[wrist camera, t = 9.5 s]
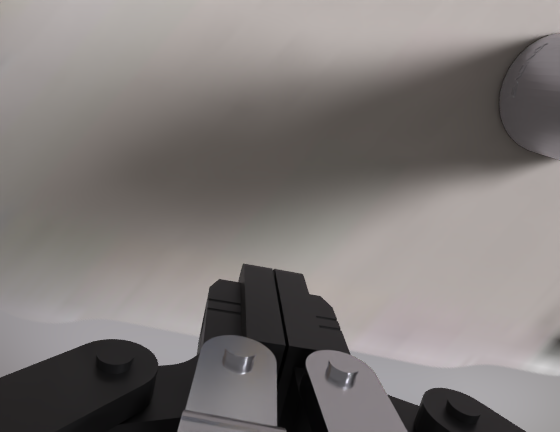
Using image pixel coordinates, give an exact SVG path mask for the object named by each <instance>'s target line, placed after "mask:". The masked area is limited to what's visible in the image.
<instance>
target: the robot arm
mask: <svg viewBox="0 0 560 432" xmlns="http://www.w3.org/2000/svg"><path fill="white" fill-rule="evenodd" d="M499 107H500V115H501V119H502V122H503V125H504V128H505V129H506V131H507V132H508V134H509V135H510V137H511V138H512V139H513V140H514V141H515V142H516V143H517V144H518V145H520V146H522V147H523V148H525V149H527V150H529V151H532V152H535V153H539V154H542V155H545V156H548V157H551V158H554V159H557V160H560V33H557V34H551V35H549V36H546V37H544V38H541V39H539V40H537V41H536V42H534V43H533V44H531V45H529V46H528V47H527V48H526V49H525V50H524V51H523V52H522V53H521V54H520V55H518V57H517V58H516V59H515V61H514V62H513V63H512V65H511V66H510V68H509V70H508V72H507V74H506V76H505V78H504V81H503V84H502V88H501V91H500V102H499ZM0 432H526V431H524V430H522V429H521V428H519V427H518V426H516V425H515V424H513V423H512V422H510V421H508V420H507V419H505V418H504V417H502V416H501V415H499V414H498V413H496V412H494V411H493V410H491V409H490V408H488V407H487V406H485V405H484V404H482V403H480V402H479V401H477V400H475V399H474V398H472V397H470V396H468V395H466V394H463V393H461V392H458V391H455V390H451V389H446V388H433V389H430V390H428V391H426V392H425V394H424V395H423V398H422V401H421V403H420V406H418V405H414V404H412V403H409V402H406V401H403V400H400V399H398V398H395V397H392V396H390V395H387V393H386V392H385V390H384V388H383V386H382V384H381V383H380V381H379V379H378V377H377V375H376V374H375V372H374V371H373V370H372V369H371V367H369V366H368V365H367V364H366V363H364V362H363V361H361V360H360V359H358V358H356V357H354V356H352V355H350V352H349V349H348V347H347V344H346V342H345V339H344V336H343V334H342V331H340V326H339V323H338V321H337V318H336V316H335V313H334V311H333V308H332V307H331V306H330V305H329V304H328V303H327V302H326V301H325V300H324V299H323V298H322V297H321V296H316V295H311V294H309V292H308V289H307V285H306V282H305V279H304V276H303V274H300V273H295V272H289V271H283V270H277V269H274V270H272V269H271V268H266V267H260V266H254V265H248V264H243V266H242V269H241V273H240V277H239V281H238V282H233V281H227V280H221V279H219V280H218V281H217V282H215V283H214V284H213V285H212V286H211V287H210V288H209V293H208V298H207V303H206V308H205V313H204V318H203V323H202V328H201V333H200V338H199V343H198V351H197V356H195V357H194V358H192V359H190V360H188V361H186V362H184V363H179V364H175V365H165V366H158V362H157V359H156V357H155V355H154V354H153V353H152V352H151V351H150V350H148V349H147V348H145V347H143V346H141V345H139V344H137V343H133V342H131V341H126V340H117V339H107V340H99V341H94V342H91V343H88V344H85V345H82V346H80V347H77V348H75V349H72V350H70V351H67V352H64V353H62V354H59V355H57V356H54V357H52V358H50V359H47V360H44V361H42V362H39V363H37V364H34V365H31V366H29V367H27V368H24V369H21V370H19V371H16V372H14V373H11V374H8V375H6V376H3V377H1V378H0Z"/></svg>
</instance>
